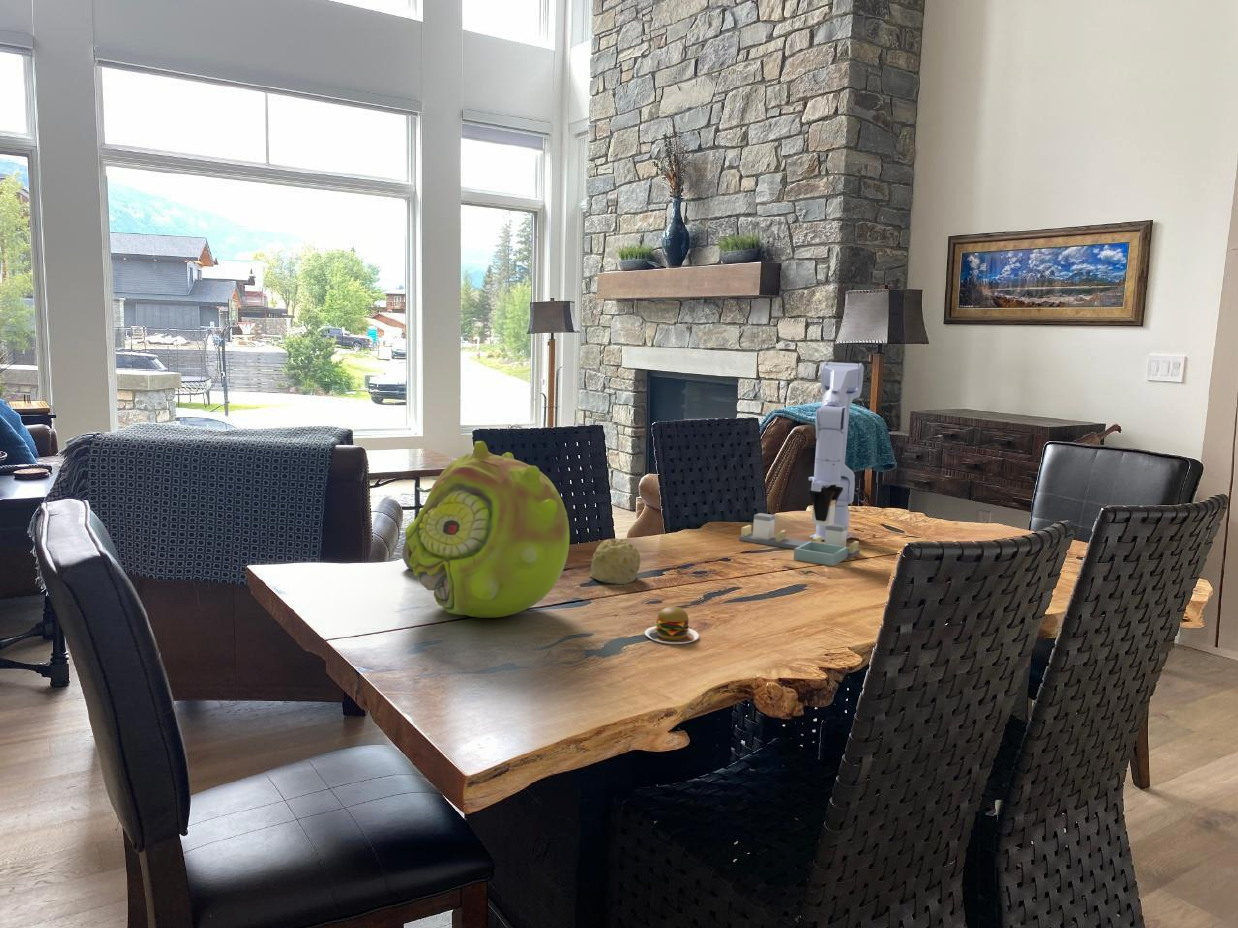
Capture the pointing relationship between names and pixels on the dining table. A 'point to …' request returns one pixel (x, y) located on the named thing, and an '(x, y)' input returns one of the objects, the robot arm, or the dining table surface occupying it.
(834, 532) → the block
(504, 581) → the monster head
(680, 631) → the hamburger
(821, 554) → the tray
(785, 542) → the block
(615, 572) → the rock
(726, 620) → the dining table surface
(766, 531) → the block
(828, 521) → the block
